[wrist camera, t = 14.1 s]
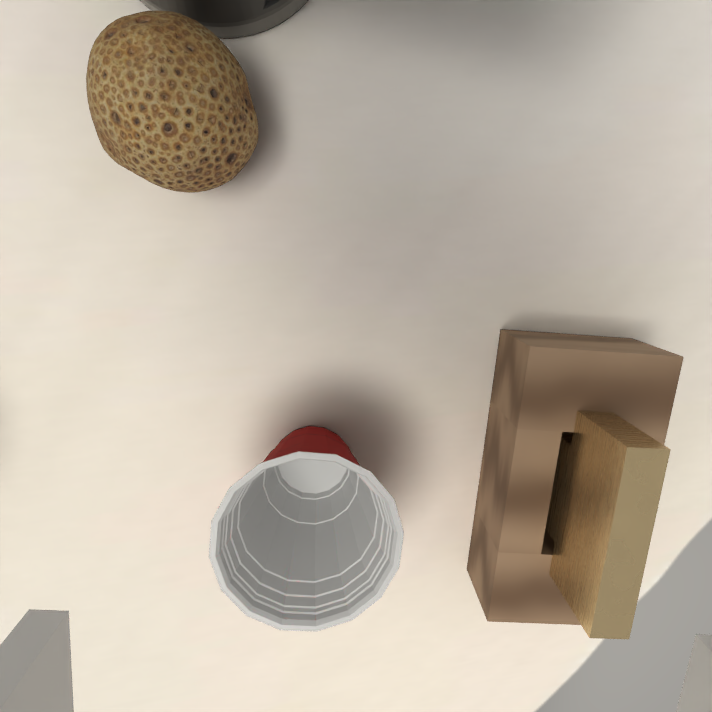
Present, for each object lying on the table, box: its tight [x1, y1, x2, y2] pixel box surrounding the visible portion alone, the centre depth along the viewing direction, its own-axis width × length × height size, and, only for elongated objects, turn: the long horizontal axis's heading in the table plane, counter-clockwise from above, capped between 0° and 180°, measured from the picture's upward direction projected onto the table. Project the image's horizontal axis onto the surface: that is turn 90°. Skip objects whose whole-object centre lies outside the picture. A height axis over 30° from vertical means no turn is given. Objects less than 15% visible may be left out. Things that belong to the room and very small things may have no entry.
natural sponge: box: [86, 11, 258, 192], centre depth 30 cm, size 9×9×10 cm
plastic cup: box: [209, 426, 404, 631], centre depth 35 cm, size 11×11×12 cm
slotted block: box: [467, 329, 683, 625], centre depth 39 cm, size 20×10×6 cm, turn 176°
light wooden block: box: [545, 411, 670, 639], centre depth 35 cm, size 12×2×11 cm, turn 176°
